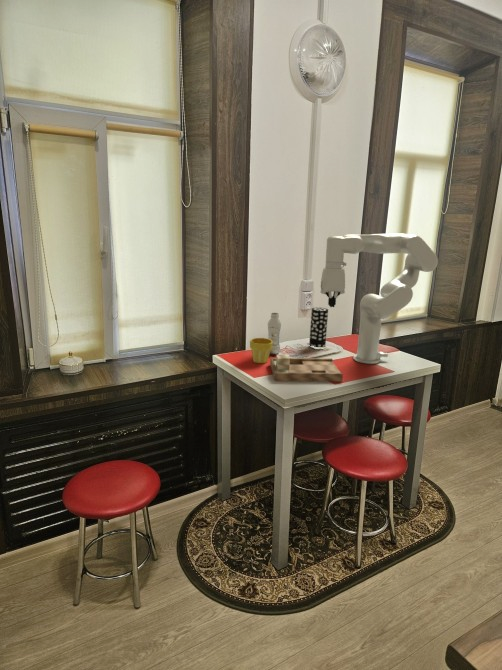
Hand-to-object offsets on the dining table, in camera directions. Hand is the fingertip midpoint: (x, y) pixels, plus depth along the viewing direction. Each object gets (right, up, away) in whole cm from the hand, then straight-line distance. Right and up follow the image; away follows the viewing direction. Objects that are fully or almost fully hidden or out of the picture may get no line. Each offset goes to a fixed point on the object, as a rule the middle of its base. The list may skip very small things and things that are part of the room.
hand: (331, 306), depth 196 cm
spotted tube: (-2, -19, +30) cm, 36 cm away
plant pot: (-32, -25, +7) cm, 41 cm away
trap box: (-13, -29, -6) cm, 33 cm away
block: (-23, -27, -8) cm, 36 cm away
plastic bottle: (-25, -22, +18) cm, 38 cm away
